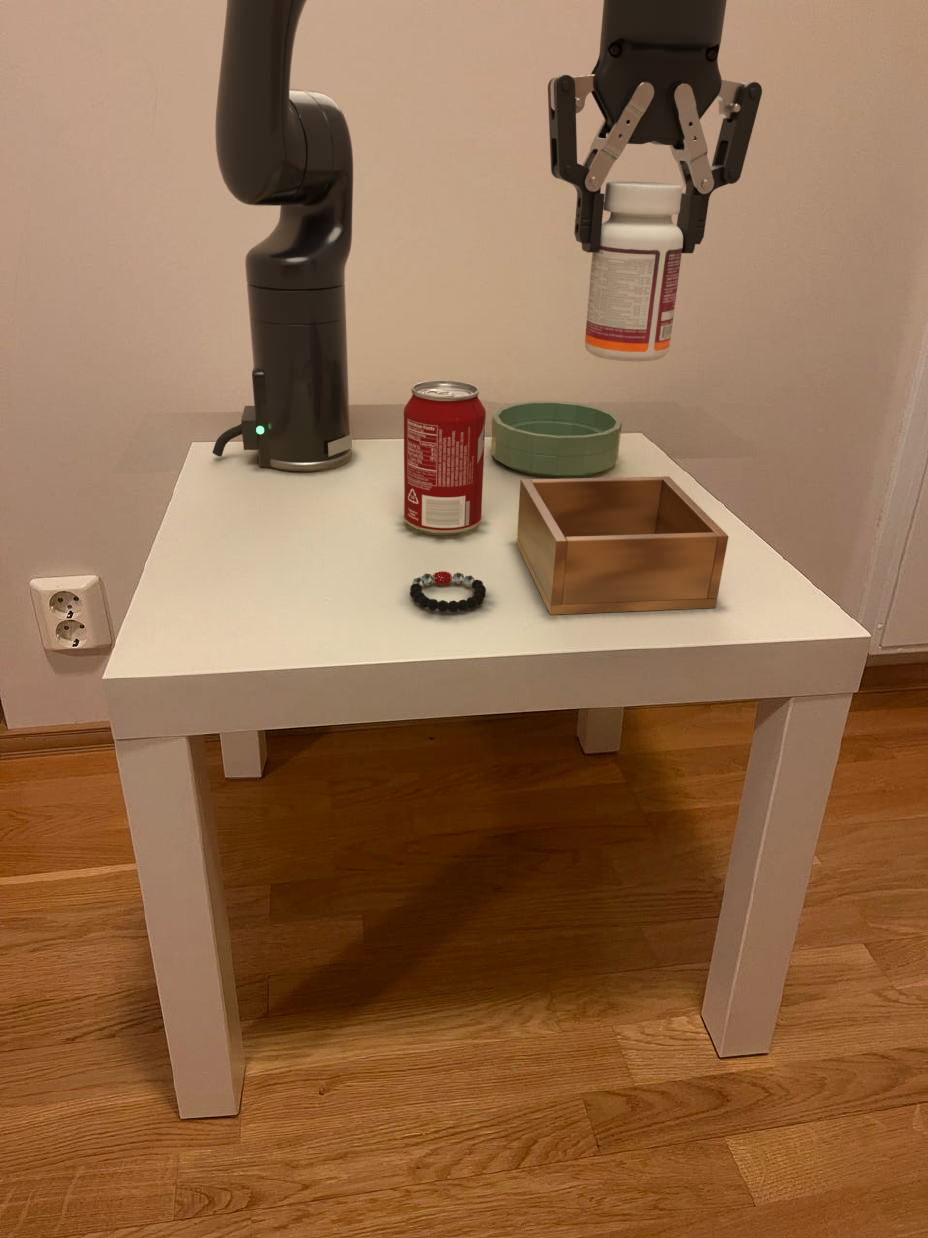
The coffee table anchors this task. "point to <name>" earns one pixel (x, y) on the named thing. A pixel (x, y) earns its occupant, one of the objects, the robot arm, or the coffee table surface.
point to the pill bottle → (635, 273)
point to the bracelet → (446, 576)
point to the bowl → (555, 438)
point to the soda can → (443, 457)
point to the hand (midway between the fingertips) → (636, 250)
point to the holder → (618, 545)
